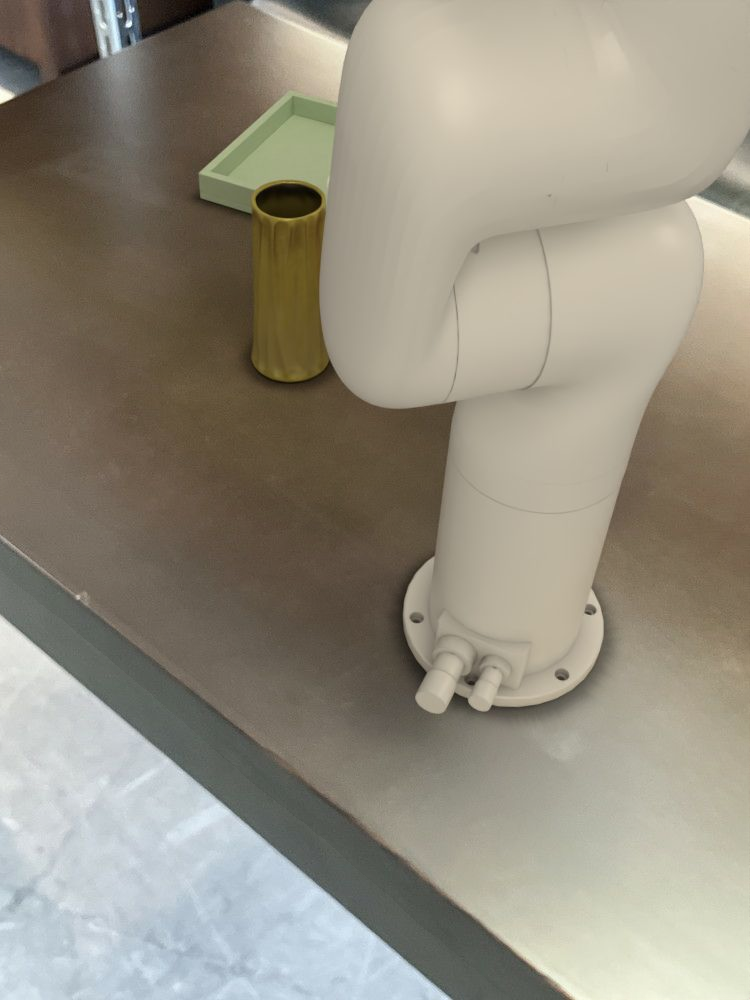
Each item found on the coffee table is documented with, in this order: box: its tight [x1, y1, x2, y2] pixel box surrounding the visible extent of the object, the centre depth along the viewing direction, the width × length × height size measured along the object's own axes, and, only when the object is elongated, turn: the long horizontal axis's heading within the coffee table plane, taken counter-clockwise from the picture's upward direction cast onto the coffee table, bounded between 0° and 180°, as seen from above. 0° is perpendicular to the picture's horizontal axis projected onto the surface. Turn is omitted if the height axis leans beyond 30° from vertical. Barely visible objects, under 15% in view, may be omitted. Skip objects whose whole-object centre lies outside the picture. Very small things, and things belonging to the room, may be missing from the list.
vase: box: [250, 180, 330, 383], centre depth 85 cm, size 6×6×14 cm
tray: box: [198, 89, 338, 215], centre depth 107 cm, size 18×16×3 cm
